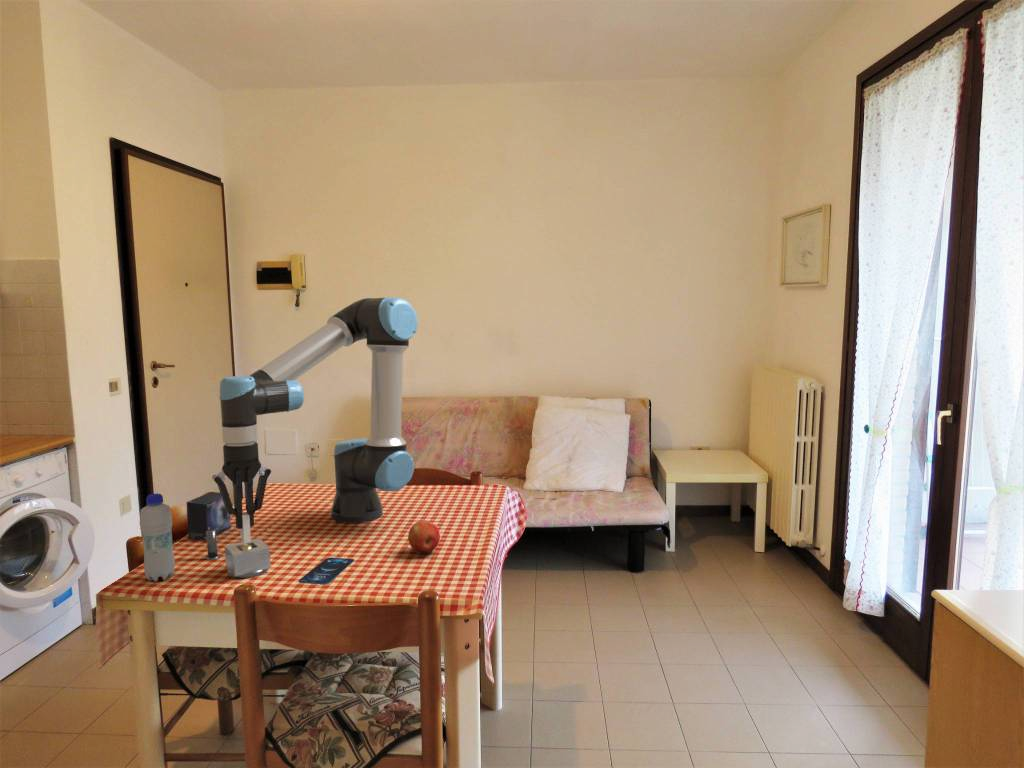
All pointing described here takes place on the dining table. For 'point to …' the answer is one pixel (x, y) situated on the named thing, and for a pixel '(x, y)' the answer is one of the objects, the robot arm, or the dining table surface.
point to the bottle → (157, 538)
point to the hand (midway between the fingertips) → (245, 540)
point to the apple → (423, 537)
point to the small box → (207, 516)
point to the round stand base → (247, 573)
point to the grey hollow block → (247, 557)
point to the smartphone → (326, 571)
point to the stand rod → (211, 545)
